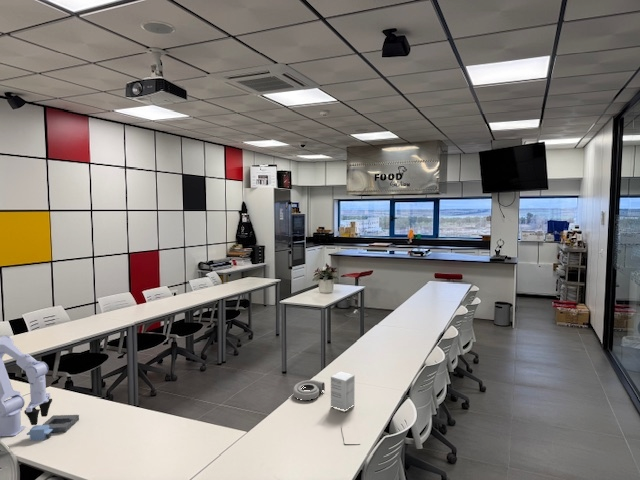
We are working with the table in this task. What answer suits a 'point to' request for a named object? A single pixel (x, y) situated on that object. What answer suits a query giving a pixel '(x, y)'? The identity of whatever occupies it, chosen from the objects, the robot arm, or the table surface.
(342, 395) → the supplement box
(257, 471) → the table surface
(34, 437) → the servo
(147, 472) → the table surface
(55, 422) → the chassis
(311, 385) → the turbocharger housing
